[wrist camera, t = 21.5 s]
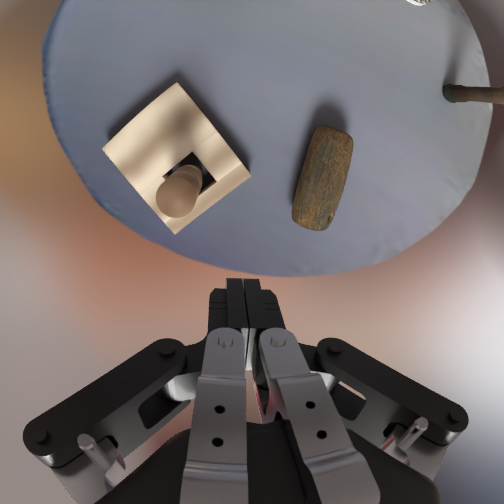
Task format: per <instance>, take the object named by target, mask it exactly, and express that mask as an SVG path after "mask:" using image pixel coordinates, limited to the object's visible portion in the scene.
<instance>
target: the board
mask: <svg viewBox="0 0 504 504" xmlns="http://www.w3.org/2000/svg"><path fill="white" fill-rule="evenodd" d="M103 151H104V152H105V153H106V154H107V155H108V157H109V158H110V159H111V160H112V162H113V163H114V164H115V165H116V166H117V168H118V169H119V170H120V171H121V173H122V174H123V175H124V176H125V177H126V179H127V180H128V181H129V182H130V183H131V184H132V186H133V187H134V188H135V189H136V190H137V192H138V193H139V194H140V195H141V196H142V197H143V199H144V200H145V201H146V202H147V203H148V204H149V206H150V207H151V208H152V209H153V210H154V211H155V212H156V214H157V215H158V216H159V217H160V218H161V219H162V220H163V222H164V223H165V224H166V225H167V226H168V227H169V228H170V229H171V231H172V232H173V233H174V234H176V233H177V232H179V231H180V230H181V229H182V228H184V227H185V226H186V225H187V224H189V223H190V222H191V221H192V220H194V219H195V218H196V217H197V216H199V215H200V214H201V213H203V212H204V211H205V210H207V209H208V208H209V207H210V206H212V205H213V204H214V203H216V202H217V201H218V200H220V199H221V198H222V197H224V196H225V195H226V194H228V193H229V192H230V191H232V190H233V189H234V188H236V187H237V186H238V185H240V184H241V183H243V182H244V181H245V180H247V179H248V178H249V177H251V174H250V172H249V171H248V170H247V168H246V167H245V166H244V164H243V163H242V162H241V161H240V159H239V158H238V157H237V155H236V154H235V153H234V151H233V150H232V149H231V148H230V146H229V145H228V144H227V142H226V141H225V140H224V139H223V137H222V136H221V135H220V134H219V132H218V131H217V130H216V129H215V127H214V126H213V125H212V124H211V122H210V121H209V120H208V119H207V117H206V116H205V115H204V114H203V112H202V111H201V110H200V109H199V107H198V106H197V105H196V104H195V103H194V101H193V100H192V99H191V98H190V97H189V95H188V94H187V93H186V92H185V91H184V89H183V88H182V87H181V86H180V85H179V84H178V83H177V82H176V83H175V84H174V85H172V86H171V87H170V88H169V89H167V90H166V91H165V92H164V93H162V94H161V95H160V96H159V97H157V98H156V99H155V100H154V101H153V102H151V103H150V104H149V105H148V106H147V107H146V108H145V109H143V110H142V111H141V112H140V113H139V114H138V115H137V116H136V117H134V118H133V119H132V120H131V121H130V122H129V123H128V124H127V125H126V126H125V127H124V128H123V129H122V130H121V131H120V132H119V133H118V134H116V135H115V136H114V137H113V138H112V139H111V140H110V141H109V142H108V144H107V145H106V146H105V147H104V148H103ZM192 151H193V152H194V154H195V155H196V156H197V157H198V159H199V160H200V161H201V162H202V164H203V165H204V166H205V167H206V169H207V170H208V171H209V172H210V173H211V175H212V176H213V177H214V178H215V180H214V181H213V182H212V183H210V184H209V185H208V186H206V187H205V188H204V189H202V190H201V191H200V192H199V195H198V198H197V200H196V203H195V206H194V208H193V210H192V211H191V212H190V213H189V214H187V215H186V216H184V217H181V218H172V217H169V216H166V215H165V214H163V213H162V212H161V211H160V209H159V208H158V206H157V203H156V192H157V190H158V188H159V186H160V185H161V184H162V183H163V182H164V181H165V180H166V179H167V178H168V177H169V176H168V174H167V172H168V171H169V170H170V169H171V168H173V167H174V166H175V165H176V164H177V163H179V162H180V161H181V160H182V159H184V158H185V157H186V156H187V155H188V154H190V153H191V152H192Z"/></svg>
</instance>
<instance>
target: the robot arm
mask: <svg viewBox="0 0 504 504" xmlns="http://www.w3.org/2000/svg"><path fill="white" fill-rule="evenodd" d="M208 318H209V319H208V333H207V335H206V337H205V338H204V339H203V340H202V341H200V342H198V343H196V344H192V345H188V346H184V345H183V344H182V343H181V342H180V341H178V340H175V339H169V338H165V339H160V340H157V341H155V342H153V343H152V344H150V345H149V346H147V347H146V348H144V349H143V350H141V351H140V352H138V353H137V354H135V355H134V356H132V357H131V358H129V359H128V360H126V361H125V362H123V363H121V364H120V365H118V366H117V367H115V368H114V369H113V370H111V371H109V372H108V373H106V374H104V375H103V376H101V377H100V378H98V379H97V380H95V381H94V382H92V383H91V384H89V385H87V386H86V387H84V388H83V389H81V390H80V391H78V392H76V393H75V394H73V395H72V396H70V397H68V398H67V399H65V400H64V401H62V402H61V403H59V404H57V405H56V406H55V407H53V408H51V409H49V410H48V411H46V412H44V413H43V414H41V415H40V416H38V417H36V418H35V419H33V420H32V421H30V422H29V423H28V424H27V425H26V427H25V429H24V431H23V441H24V444H25V446H26V448H27V449H28V450H29V451H30V452H31V453H32V454H33V455H34V456H36V457H37V458H38V459H39V460H40V461H41V462H42V463H43V464H45V465H46V466H47V467H48V468H49V469H51V470H52V471H53V472H54V474H55V475H56V477H57V478H58V479H59V481H60V482H61V483H62V485H63V486H64V487H65V489H66V490H67V491H68V492H69V494H70V495H71V496H72V497H73V499H74V500H75V501H76V502H77V503H78V504H441V496H440V492H439V489H438V488H437V486H436V484H435V483H434V482H433V479H434V477H435V475H436V473H437V471H438V469H439V466H440V464H441V462H442V460H443V458H444V455H445V453H446V451H447V448H448V446H449V445H450V444H451V443H452V442H453V441H454V440H455V439H456V438H457V437H458V436H459V435H460V434H461V433H462V432H463V431H464V430H465V429H466V427H467V425H468V415H467V413H466V411H465V409H464V408H463V407H461V406H460V405H458V404H456V403H454V402H453V401H451V400H449V399H447V398H445V397H443V396H441V395H439V394H438V393H435V392H434V391H432V390H430V389H428V388H426V387H424V386H423V385H420V384H419V383H417V382H415V381H414V380H412V379H410V378H408V377H406V376H404V375H403V374H401V373H399V372H397V371H395V370H394V369H392V368H390V367H388V366H386V365H385V364H383V363H381V362H379V361H378V360H376V359H374V358H372V357H371V356H369V355H367V354H365V353H364V352H362V351H360V350H358V349H357V348H355V347H353V346H351V345H350V344H348V343H346V342H345V341H342V340H340V339H337V338H325V339H322V340H321V341H320V342H319V343H318V345H317V347H315V346H310V345H305V344H301V343H298V342H297V339H296V337H295V336H294V335H293V334H292V333H291V332H290V331H288V330H286V328H285V325H284V321H283V318H282V314H281V311H280V307H279V305H278V300H277V297H276V295H275V294H274V293H273V292H272V291H271V290H261V286H260V282H259V279H243V281H242V278H226V289H219V288H215V289H214V290H213V291H212V292H211V294H210V299H209V317H208ZM245 367H246V370H252V373H253V379H254V383H253V385H254V390H255V394H256V398H257V403H258V407H259V411H260V415H261V420H262V424H256V423H251V422H246V379H245ZM340 381H342V382H343V383H345V384H347V385H348V386H350V387H351V388H353V389H354V390H356V391H358V392H360V393H361V394H362V395H363V396H364V397H365V398H366V400H364V399H362V398H361V397H359V396H357V395H356V394H354V393H353V392H351V391H349V390H348V389H346V388H345V387H343V386H342V385H340V384H339V382H340ZM193 398H195V402H194V409H193V415H192V422H191V428H190V429H187V430H184V431H182V432H180V433H178V434H176V435H174V436H173V437H171V438H170V439H169V440H167V441H166V442H165V443H164V444H163V445H162V446H161V447H160V448H159V449H158V450H157V451H155V452H154V453H153V454H152V455H151V456H150V457H149V458H148V459H147V460H146V461H144V462H143V463H142V464H141V465H140V466H139V467H138V468H136V469H135V470H134V471H133V472H132V473H131V474H129V475H128V476H127V477H126V478H125V479H124V480H122V481H121V482H120V483H119V484H118V485H116V484H117V482H118V480H119V479H120V478H121V477H122V476H123V475H124V473H125V469H126V465H125V461H124V458H125V457H126V456H127V455H129V454H130V453H131V452H133V451H134V450H135V449H136V448H137V447H139V446H140V445H141V444H142V443H144V442H145V441H146V440H148V439H149V438H150V437H151V436H152V435H154V434H155V433H156V432H157V431H158V430H160V429H161V428H162V427H163V426H164V425H165V424H166V423H168V422H169V421H170V420H171V419H172V418H174V417H175V416H176V415H177V414H178V413H180V412H181V411H182V410H183V409H184V408H185V407H186V406H188V404H189V403H190V401H191V399H193Z"/></svg>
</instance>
